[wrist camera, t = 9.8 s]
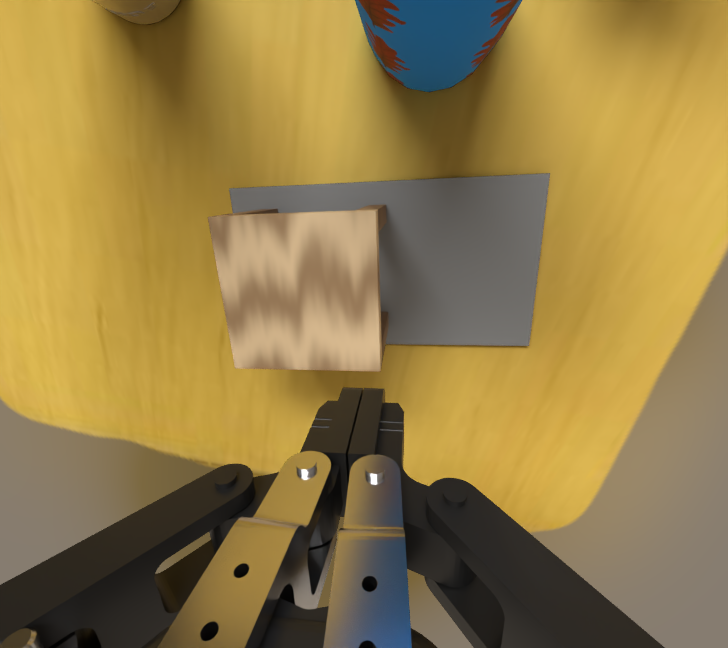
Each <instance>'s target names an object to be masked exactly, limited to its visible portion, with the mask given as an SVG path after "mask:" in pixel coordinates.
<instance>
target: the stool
mask: <svg viewBox="0 0 728 648" xmlns="http://www.w3.org/2000/svg"><path fill="white" fill-rule="evenodd" d="M208 221H209V226H210V232H211V237H212V243H213V249H214V254H215V260H216V265H217V271H218V276H219V282H220V287H221V293H222V298H223V304H224V309H225V315H226V320H227V326H228V331H229V337H230V342H231V348H232V354H233V359H234V365H235V368H245V369H291V370H337V371H381V366H382V360H383V355H384V349H385V344H386V338H387V333H388V327H389V317H388V312H381V305H380V270H379V234H378V233H379V231H380V230H381V229H382V228H383V226H384V225H385V224H386V222H387V219H386V204H383V205H368V206H365V207H363V208H360V209H358V210H351V211H324V212H298V213H278V209H260V210H253V211H246V212H239V213H232V214H225V215H218V216H212V217H208Z"/></svg>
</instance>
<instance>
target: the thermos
mask: <svg viewBox="0 0 728 648" xmlns="http://www.w3.org/2000/svg"><path fill="white" fill-rule="evenodd" d="M355 1H356V5H357V8H358V11H359V14H360V17H361V20H362V24H363V27H364V30H365V33H366V36H367V39H368V42H369V44H370V46H371V48H372V50H373V52H374V54H375V56H376V58H377V59H378V61H379V62H380V63H381V65H382V66H383V68H384V69H385V71H386V72H387V73H388V75H389V76H390V77H392V78H393V79H395V80H396V81H398V82H399V83H401V84H402V85H404V86H405V87H407V88H409V89H415V90H420V91H426V92H432V91H436V90H441V89H445V88H450V87H452V86H454V85H455V84H457V83H458V82H460V81H462V80H463V79H465V78H466V77H468V76H469V75H471V74H472V73H473V72H474V71H475V69H476V68H477V67H478V66H479V64H480V63H481V62H482V61H483V59H484V58H485V57H486V56H487V55H488V53H489V52H490V51H491V49H492V48H493V47H494V45H495V44H496V43H497V42H498V40H499V39H500V38H501V36H502V35H503V33H504V31H505V29H506V28H507V26H508V24H509V22H510V21H511V19H512V17H513V16H514V14H515V12H516V10H517V9H518V7H519V5H520V3H521V2H522V0H355Z"/></svg>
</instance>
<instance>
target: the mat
mask: <svg viewBox="0 0 728 648" xmlns="http://www.w3.org/2000/svg"><path fill="white" fill-rule="evenodd" d="M549 178H550V173H546V174H525V175H504V176H483V177H462V178H441V179H420V180H399V181H378V182H357V183H335V184H314V185H293V186H272V187H251V188H230V189H229V191H230V197H231V203H232V210H233V213H239V212H246V211H253V210H260V209H278V213H298V212H324V211H351V210H358V209H360V208H363V207H365V206H368V205H383V204H386V219H387V222H386V224H385V225H384V226H383V228H382V229H381V230H380V231H379V233H378V234H379V270H380V305H381V312H388V317H389V327H388V333H387V338H386V344H417V345H501V346H529V342H530V333H531V325H532V317H533V309H534V301H535V292H536V284H537V276H538V268H539V260H540V251H541V243H542V235H543V227H544V219H545V210H546V202H547V194H548V186H549Z"/></svg>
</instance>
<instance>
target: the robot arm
mask: <svg viewBox="0 0 728 648" xmlns="http://www.w3.org/2000/svg"><path fill="white" fill-rule="evenodd" d="M92 1H94V2H95V3H97V4H99V5H101V6H102V7H104V8H106V10H108V11H110V12H112V13H114V14H117V15H118V16H120V17H122V18H124V19H125V20H127V21H130V22H133V23H137V24H152V23H156V22H159V21H161V20H162V19H164V18H166V17H167V16H169V15H170V14H171V13H172V11H173V10H174V9H175V8H176V7H177V5H178V4H179V2H180V0H92ZM403 455H404V411H403V410H402V408H401V407H400V405H399V404H398V403H385V390H384V389H374V388H364V390H363V388H343V389H342V391H341V394H340V397H339V400H338V401H327V402H326V403H325V404H324V405H323V406H321V407H320V408H319V410H318V412H317V414H316V417H315V420H314V421H313V424H312V427H311V428H310V431H309V433H308V435H307V438H306V440H305V442H304V445H303V447H302V449H301V452H300V453H298V454H295V455H293V456H292V457H290V458H289V459H288V460H287V461H286V462H285V463H284V465H283V467H282V468H281V470H280V472H277V473H274V474H269V475H264V476H258V477H253V474H252V471H251V469H250V468H249V467H247V466H245V465H242V464H228V465H224V466H221V467H219V468H217V469H215V470H213V471H211V472H210V473H207V474H206V475H204V476H202V477H200V478H198V479H196V480H194V481H193V482H191V483H189V484H187V485H185V486H183V487H181V488H179V489H178V490H176V491H174V492H172V493H170V494H169V495H167V496H165V497H163V498H161V499H159V500H157V501H155V502H153V503H152V504H150V505H148V506H146V507H144V508H142V509H140V510H139V511H137V512H135V513H133V514H131V515H129V516H127V517H126V518H124V519H122V520H120V521H119V522H116V523H114V524H113V525H111V526H109V527H107V528H105V529H103V530H102V531H100V532H98V533H96V534H94V535H92V536H90V537H88V538H87V539H85V540H83V541H81V542H79V543H77V544H75V545H74V546H72V547H70V548H68V549H66V550H64V551H63V552H61V553H59V554H57V555H55V556H54V557H51V558H50V559H48V560H46V561H44V562H42V563H40V564H39V565H37V566H35V567H33V568H31V569H29V570H27V571H26V572H24V573H22V574H20V575H18V576H16V577H14V578H12V579H11V580H9V581H7V582H5V583H3V584H1V585H0V648H437V647H436V646H435V645H434V644H433V643H432V642H431V641H429V640H428V639H427V638H425V637H424V636H423V635H422V634H420V633H418V632H417V631H415V630H413V629H412V628H411V627H410V611H409V594H408V578H407V569H409V570H412V571H414V572H416V573H418V574H421V575H423V576H425V581H426V584H427V586H428V587H429V589H430V590H431V592H432V593H433V594H434V596H435V597H436V598H437V600H438V601H439V602H440V604H441V605H442V606H443V607H444V609H445V610H446V611H447V613H448V614H449V615H450V617H451V618H452V619H453V621H454V622H455V623H456V625H457V626H458V627H459V629H460V630H461V631H462V633H463V634H464V635H465V637H466V638H467V639H468V640H469V642H470V643H471V644H472V646H473V647H474V648H664V647H663V646H662V645H661V644H660V643H658V642H657V641H656V640H655V639H654V638H653V637H651V636H650V635H649V634H648V633H647V632H646V631H644V630H643V629H642V628H641V627H639V626H638V625H637V624H636V623H635V622H634V621H633V620H631V619H630V618H629V617H628V616H627V615H625V614H624V613H623V612H622V611H621V610H620V609H618V608H617V607H616V606H615V605H614V604H612V603H611V602H610V601H609V600H608V599H606V598H605V597H604V596H603V595H602V594H601V593H599V592H598V591H597V590H596V589H595V588H593V587H592V586H591V585H590V584H589V583H588V582H586V581H585V580H584V579H583V578H582V577H580V576H579V575H578V574H577V573H576V572H575V571H573V570H572V569H571V568H570V567H569V566H567V565H566V564H565V563H564V562H563V561H562V560H560V559H559V558H558V557H557V556H556V555H554V554H553V553H552V552H551V551H550V550H548V549H547V548H546V547H545V546H544V545H543V544H541V543H540V542H539V541H538V540H537V539H536V538H534V537H533V536H532V535H531V534H530V533H528V532H527V531H526V530H525V529H524V528H523V527H521V526H520V525H519V524H518V523H517V522H515V521H514V520H513V519H512V518H511V517H510V516H508V515H507V514H506V513H505V512H504V511H502V510H501V509H500V508H499V507H498V506H496V505H495V504H494V503H493V502H492V501H491V500H489V499H488V498H487V497H486V496H485V495H483V494H482V493H481V492H480V491H479V490H478V489H476V488H475V487H474V486H473V485H471V484H470V483H468V482H466V481H463V480H460V479H456V478H443V479H440V480H437V481H435V482H434V483H432V484H431V485H430V486H427V485H424V484H421V483H418V482H416V481H415V480H413V479H411V478H410V477H409V476H408V475H407V474H406V473H405V471H404V470H403ZM340 517H344V525H343V528H341V529H340V530H339V534H338V540H337V528H338V524H339V520H340ZM207 532H209V533H210V537H211V540H210V541H208V542H207V543H205V544H204V545H202V546H201V547H199V548H198V549H196V550H195V551H193V552H192V553H190V554H189V555H187V556H186V557H184V558H183V559H181V560H180V561H178V562H177V563H175V564H174V565H172V566H171V567H169V568H168V569H166V570H164V571H163V572H161V573H158V574H155V572H156V570H157V568H158V567H159V565H160V564H161V563H162V562H163V561H164V560H166V559H167V558H169V557H170V556H172V555H173V554H175V553H176V552H178V551H179V550H181V549H182V548H184V547H186V546H187V545H188V544H190V543H192V542H193V541H195V540H196V539H198V538H200V537H201V536H203V535H204V534H206V533H207ZM336 542H337V548H336V556H335V563H334V571H333V578H332V586H331V593H330V601H329V606H328V607H322V608H317V606H318V602H319V598H320V595H321V592H322V588H323V585H324V582H325V579H326V575H327V572H328V569H329V566H330V562H331V559H332V555H333V552H334V549H335V546H336Z"/></svg>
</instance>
